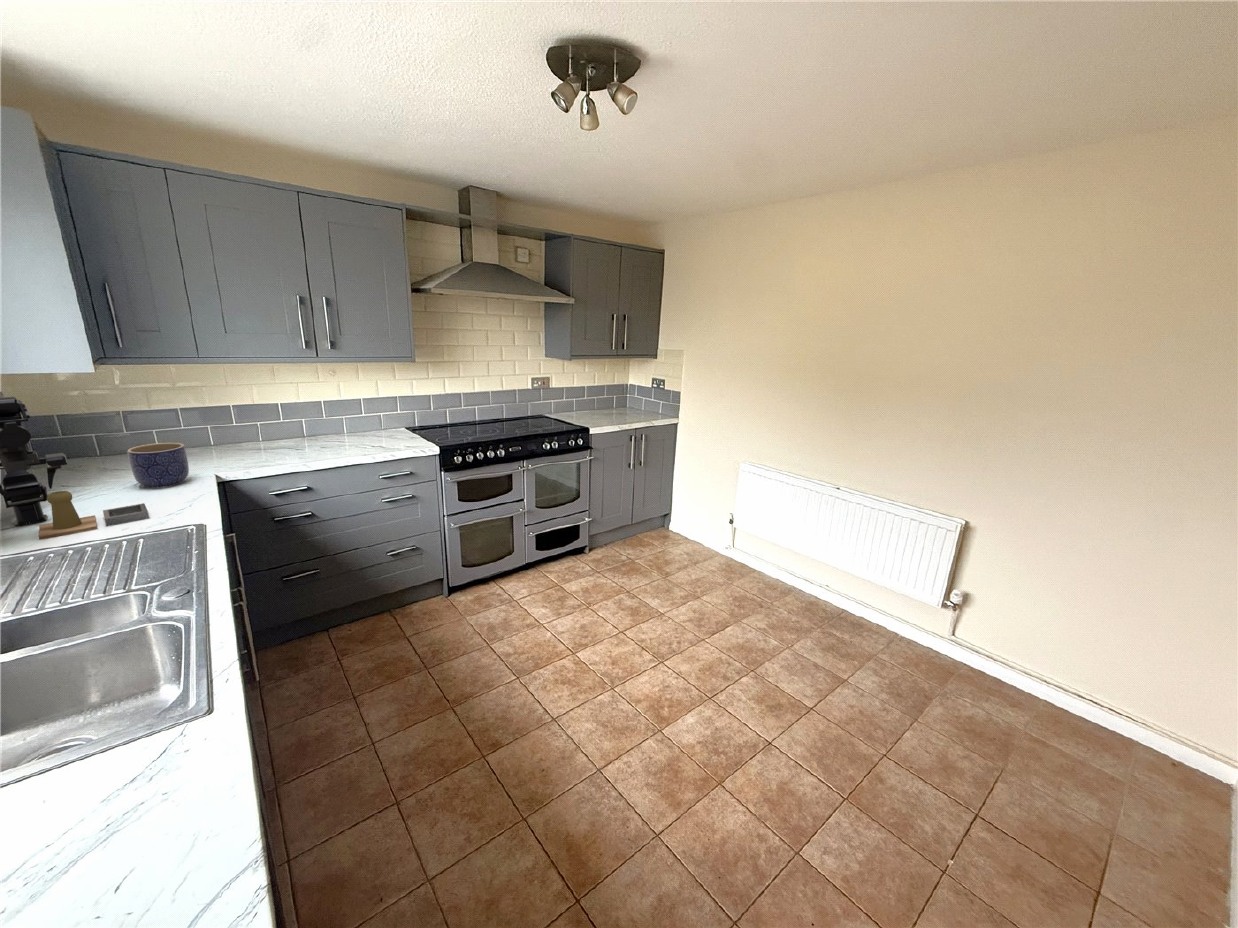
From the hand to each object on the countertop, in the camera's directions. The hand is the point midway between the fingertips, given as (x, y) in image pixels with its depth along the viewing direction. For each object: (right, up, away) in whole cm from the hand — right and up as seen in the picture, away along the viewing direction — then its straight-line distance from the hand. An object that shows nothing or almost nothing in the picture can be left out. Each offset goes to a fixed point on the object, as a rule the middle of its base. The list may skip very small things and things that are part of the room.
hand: (27, 491), depth 146 cm
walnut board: (+5, -12, +7) cm, 14 cm away
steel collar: (+14, -10, +16) cm, 23 cm away
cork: (+5, -11, +6) cm, 14 cm away
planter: (-4, 0, +48) cm, 49 cm away
